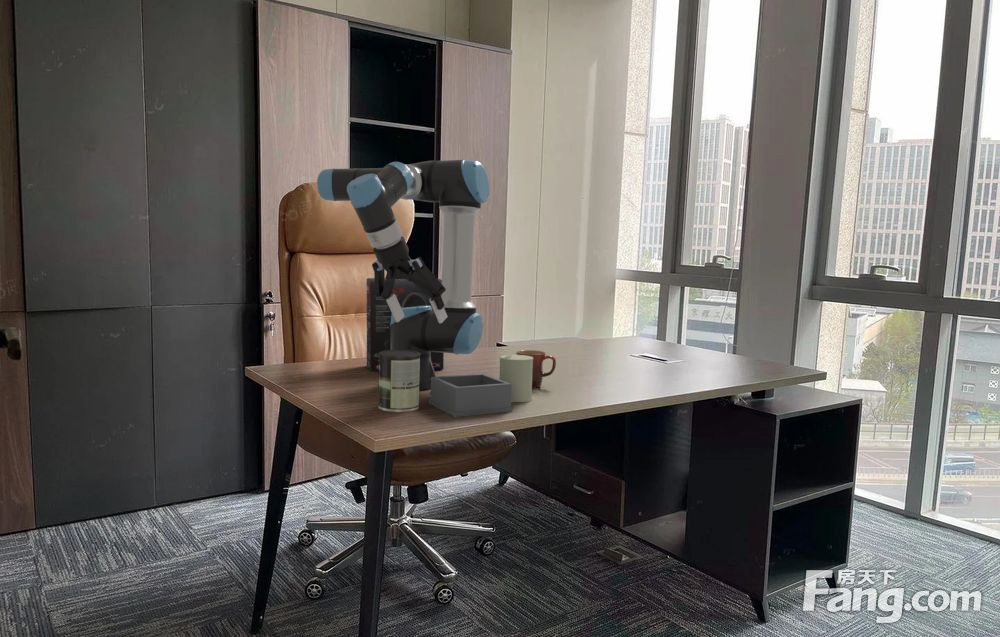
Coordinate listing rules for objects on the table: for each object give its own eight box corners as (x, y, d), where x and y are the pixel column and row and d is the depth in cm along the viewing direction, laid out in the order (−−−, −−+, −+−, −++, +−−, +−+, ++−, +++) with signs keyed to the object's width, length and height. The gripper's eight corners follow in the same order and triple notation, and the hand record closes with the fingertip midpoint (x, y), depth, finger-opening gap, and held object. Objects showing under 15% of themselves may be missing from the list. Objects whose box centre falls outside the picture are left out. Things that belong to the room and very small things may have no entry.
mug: (511, 387, 214) (512, 353, 213) (519, 382, 223) (520, 349, 222) (551, 391, 211) (553, 356, 210) (557, 385, 220) (559, 352, 219)
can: (492, 397, 201) (493, 353, 199) (520, 394, 205) (522, 352, 204) (509, 403, 193) (510, 358, 192) (538, 401, 197) (540, 357, 196)
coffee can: (371, 410, 181) (371, 353, 180) (389, 402, 191) (389, 348, 189) (409, 414, 178) (410, 356, 177) (425, 405, 188) (426, 351, 186)
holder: (429, 403, 190) (429, 376, 190) (483, 398, 198) (484, 373, 197) (454, 416, 176) (455, 388, 176) (512, 411, 184) (513, 384, 183)
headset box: (368, 372, 234) (369, 268, 230) (364, 365, 245) (365, 266, 242) (444, 370, 240) (446, 269, 237) (436, 364, 252) (438, 268, 249)
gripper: (339, 252, 170) (374, 327, 180) (420, 248, 156) (453, 329, 166) (358, 236, 175) (392, 310, 185) (439, 231, 161) (470, 311, 171)
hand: (421, 319), depth 176 cm, fingers open, 13 cm apart
